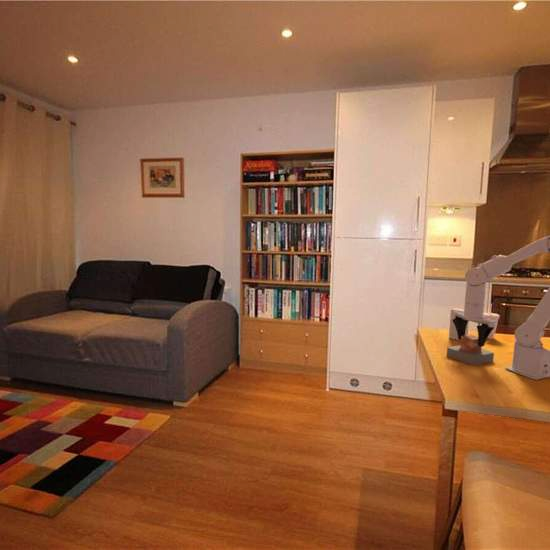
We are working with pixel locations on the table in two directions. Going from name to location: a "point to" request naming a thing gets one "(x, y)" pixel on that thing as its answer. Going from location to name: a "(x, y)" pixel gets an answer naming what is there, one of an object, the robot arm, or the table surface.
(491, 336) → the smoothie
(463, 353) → the base block
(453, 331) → the skincare box
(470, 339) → the cube
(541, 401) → the table surface
